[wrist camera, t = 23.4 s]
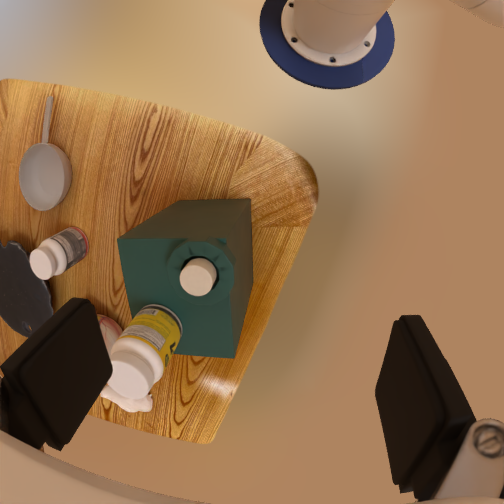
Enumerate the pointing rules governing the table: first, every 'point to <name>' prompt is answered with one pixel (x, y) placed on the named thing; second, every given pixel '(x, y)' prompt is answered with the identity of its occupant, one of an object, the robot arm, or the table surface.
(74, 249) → the pill bottle
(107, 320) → the anatomical model
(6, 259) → the board
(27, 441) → the robot arm
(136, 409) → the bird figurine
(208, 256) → the teal box with knob
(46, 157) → the small pan
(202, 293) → the round beige push button
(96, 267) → the table surface
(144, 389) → the supplement bottle
